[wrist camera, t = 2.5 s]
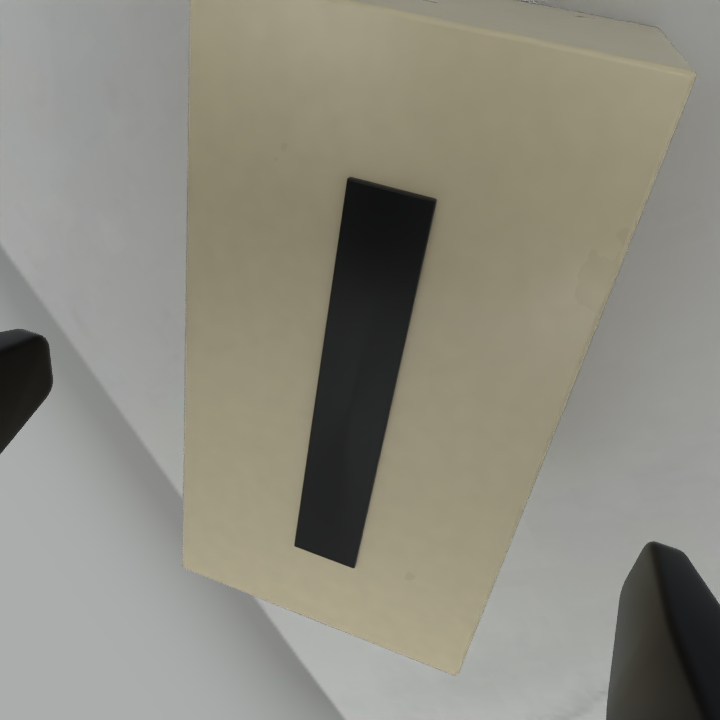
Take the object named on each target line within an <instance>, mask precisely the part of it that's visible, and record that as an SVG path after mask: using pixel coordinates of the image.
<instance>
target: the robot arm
mask: <svg viewBox="0 0 720 720" xmlns="http://www.w3.org/2000/svg"><path fill="white" fill-rule="evenodd" d="M52 384H53V375H52V367H51V358H50V349H49V344H48V342H47V340H46V338H44V337H43V336H42V335H39V334H36V333H33V332H30V331H27V330H24V329H14V330H9V331H4V332H0V454H1V453H2V451H3V450H4V449H5V447H6V446H7V445H8V444H9V443H10V441H11V440H12V439H13V438H14V437H15V435H16V434H17V433H18V432H19V431H20V429H21V428H22V427H23V426H24V424H25V423H26V422H27V421H28V419H29V418H30V417H31V416H32V415H33V413H34V412H35V411H36V410H37V408H38V407H39V406H40V405H41V404H42V402H43V401H44V400H45V399H46V398H47V396H48V395H49V392H50V391H51V388H52ZM606 720H720V604H719V603H718V601H717V600H716V598H715V597H714V595H713V594H712V592H711V591H710V590H709V588H708V587H707V585H706V584H705V582H704V581H703V579H702V578H701V576H700V575H699V573H698V572H697V570H696V569H695V567H694V566H693V565H692V563H691V562H690V560H689V559H688V557H687V556H686V555H685V554H684V553H683V552H682V551H680V550H678V549H676V548H673V547H670V546H667V545H664V544H661V543H658V542H654V541H653V542H649V543H647V544H646V545H645V546H644V548H643V550H642V551H641V553H640V555H639V557H638V559H637V560H636V562H635V564H634V566H633V568H632V569H631V571H630V573H629V575H628V577H627V578H626V580H625V582H624V585H623V587H622V591H621V594H620V600H619V608H618V616H617V624H616V633H615V641H614V649H613V657H612V666H611V674H610V682H609V691H608V701H607V715H606Z"/></svg>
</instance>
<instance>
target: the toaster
mask: <svg viewBox="0 0 720 720" xmlns="http://www.w3.org/2000/svg"><path fill="white" fill-rule="evenodd" d="M695 79H696V72H695V71H694V70H693V69H692V68H691V66H690V65H689V64H688V63H687V62H686V60H685V59H684V58H683V57H682V56H681V54H680V53H679V52H678V51H677V49H676V48H675V47H674V46H673V45H672V43H671V42H670V41H669V40H668V39H667V37H666V36H665V35H664V34H663V33H662V31H661V30H660V29H659V28H656V27H651V26H646V25H641V24H636V23H630V22H625V21H620V20H615V19H610V18H605V17H600V16H594V15H589V14H584V13H579V12H574V11H569V10H564V9H559V8H553V7H548V6H543V5H538V4H533V3H528V2H523V1H517V0H190V29H189V104H188V180H187V256H186V331H185V407H184V482H183V558H182V559H183V560H182V566H183V567H184V568H185V569H187V570H190V571H193V572H195V573H197V574H200V575H202V576H205V577H207V578H210V579H212V580H215V581H217V582H220V583H222V584H225V585H227V586H230V587H232V588H235V589H238V590H240V591H243V592H245V593H248V594H250V595H253V596H255V597H258V598H260V599H263V600H265V601H268V602H270V603H273V604H275V605H278V606H280V607H283V608H285V609H288V610H290V611H293V612H295V613H298V614H300V615H303V616H305V617H308V618H310V619H313V620H315V621H318V622H321V623H323V624H326V625H328V626H331V627H333V628H336V629H338V630H341V631H343V632H346V633H348V634H351V635H353V636H356V637H358V638H361V639H363V640H366V641H368V642H371V643H373V644H376V645H378V646H381V647H383V648H386V649H388V650H391V651H393V652H396V653H399V654H401V655H404V656H406V657H409V658H411V659H414V660H416V661H419V662H421V663H424V664H426V665H429V666H431V667H434V668H436V669H439V670H441V671H444V672H446V673H449V674H451V675H454V676H456V675H458V673H459V671H460V669H461V666H462V664H463V661H464V659H465V656H466V653H467V651H468V648H469V646H470V643H471V641H472V638H473V636H474V633H475V631H476V628H477V626H478V623H479V621H480V618H481V616H482V613H483V611H484V608H485V606H486V603H487V601H488V598H489V596H490V593H491V591H492V588H493V586H494V583H495V581H496V578H497V576H498V573H499V571H500V568H501V566H502V563H503V561H504V558H505V556H506V553H507V551H508V548H509V546H510V543H511V541H512V538H513V536H514V533H515V531H516V528H517V526H518V523H519V521H520V518H521V515H522V513H523V510H524V508H525V505H526V503H527V500H528V498H529V495H530V493H531V490H532V488H533V485H534V483H535V480H536V478H537V475H538V473H539V470H540V468H541V465H542V463H543V460H544V458H545V455H546V453H547V450H548V448H549V445H550V443H551V440H552V438H553V435H554V433H555V430H556V428H557V425H558V423H559V420H560V418H561V415H562V413H563V410H564V408H565V405H566V403H567V400H568V398H569V395H570V393H571V390H572V388H573V385H574V383H575V380H576V377H577V375H578V372H579V370H580V367H581V365H582V362H583V360H584V357H585V355H586V352H587V350H588V347H589V345H590V342H591V340H592V337H593V335H594V332H595V330H596V327H597V325H598V322H599V320H600V317H601V315H602V312H603V310H604V307H605V305H606V302H607V300H608V297H609V295H610V292H611V290H612V287H613V285H614V282H615V280H616V277H617V275H618V272H619V270H620V267H621V265H622V262H623V260H624V257H625V255H626V252H627V250H628V247H629V245H630V242H631V239H632V237H633V234H634V232H635V229H636V227H637V224H638V222H639V219H640V217H641V214H642V212H643V209H644V207H645V204H646V202H647V199H648V197H649V194H650V192H651V189H652V187H653V184H654V182H655V179H656V177H657V174H658V172H659V169H660V167H661V164H662V162H663V159H664V157H665V154H666V152H667V149H668V147H669V144H670V142H671V139H672V137H673V134H674V132H675V129H676V127H677V124H678V122H679V119H680V117H681V114H682V112H683V109H684V107H685V104H686V101H687V99H688V96H689V94H690V91H691V89H692V86H693V84H694V81H695Z"/></svg>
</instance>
